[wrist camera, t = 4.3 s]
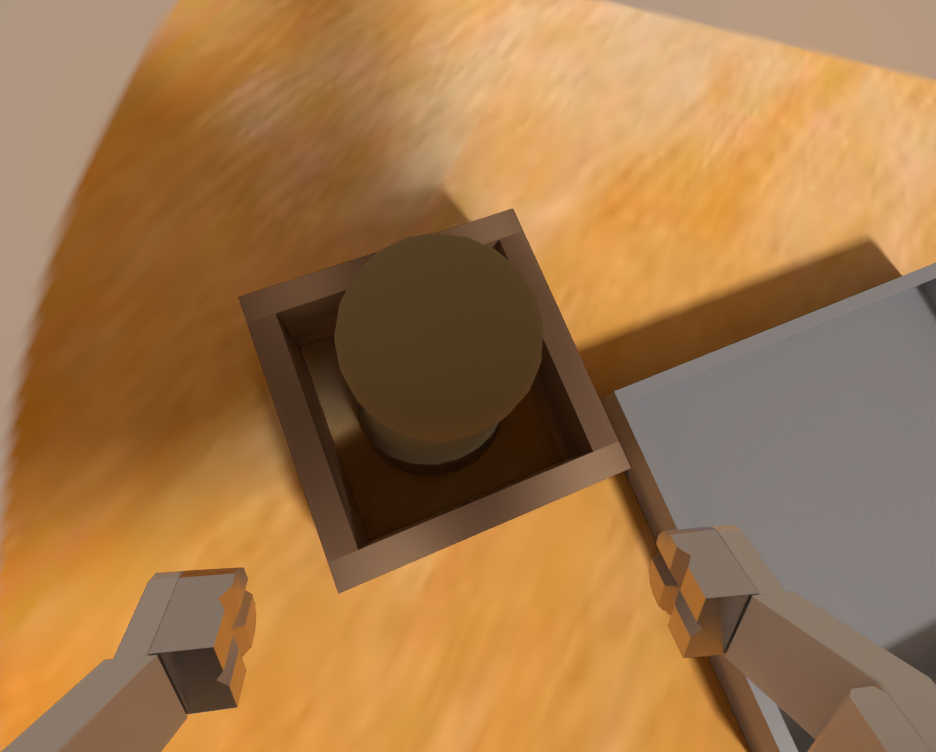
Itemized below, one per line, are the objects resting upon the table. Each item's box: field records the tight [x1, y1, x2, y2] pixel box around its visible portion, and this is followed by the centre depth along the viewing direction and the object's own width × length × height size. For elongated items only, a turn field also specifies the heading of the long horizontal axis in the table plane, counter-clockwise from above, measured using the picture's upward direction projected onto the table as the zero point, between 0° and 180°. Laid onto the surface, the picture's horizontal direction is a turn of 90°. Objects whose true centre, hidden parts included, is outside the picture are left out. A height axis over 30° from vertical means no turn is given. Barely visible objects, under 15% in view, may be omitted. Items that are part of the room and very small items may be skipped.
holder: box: [239, 209, 631, 594], centre depth 21 cm, size 10×10×4 cm
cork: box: [334, 233, 543, 476], centre depth 17 cm, size 6×6×11 cm
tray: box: [600, 263, 936, 752], centre depth 22 cm, size 17×15×2 cm
